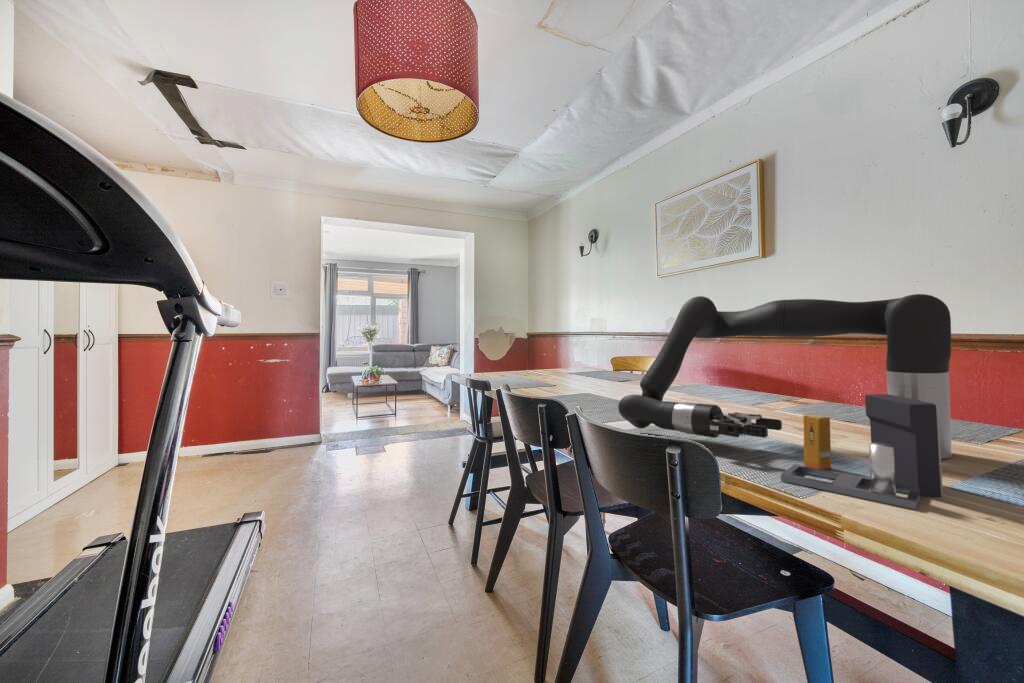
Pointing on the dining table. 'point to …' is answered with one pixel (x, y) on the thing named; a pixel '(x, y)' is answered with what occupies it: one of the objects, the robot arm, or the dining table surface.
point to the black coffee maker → (909, 439)
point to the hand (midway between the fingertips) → (774, 428)
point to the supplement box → (817, 442)
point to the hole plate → (851, 486)
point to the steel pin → (882, 468)
